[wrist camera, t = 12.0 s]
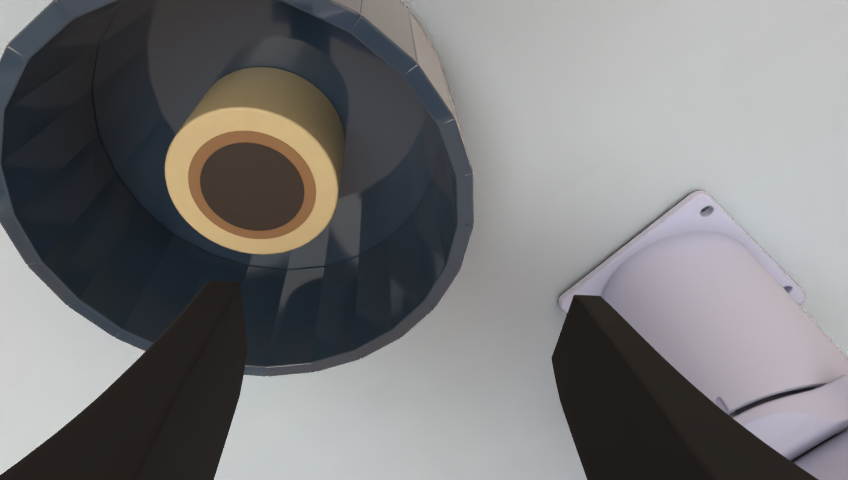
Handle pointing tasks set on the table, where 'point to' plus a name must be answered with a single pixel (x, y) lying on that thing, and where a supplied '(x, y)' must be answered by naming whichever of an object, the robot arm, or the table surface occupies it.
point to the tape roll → (258, 162)
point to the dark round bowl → (165, 115)
